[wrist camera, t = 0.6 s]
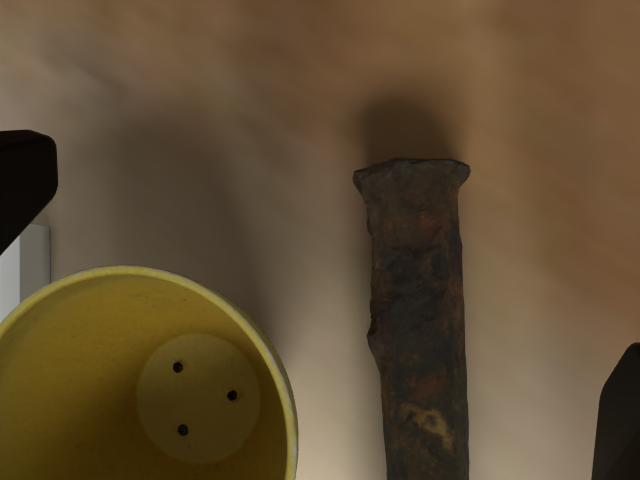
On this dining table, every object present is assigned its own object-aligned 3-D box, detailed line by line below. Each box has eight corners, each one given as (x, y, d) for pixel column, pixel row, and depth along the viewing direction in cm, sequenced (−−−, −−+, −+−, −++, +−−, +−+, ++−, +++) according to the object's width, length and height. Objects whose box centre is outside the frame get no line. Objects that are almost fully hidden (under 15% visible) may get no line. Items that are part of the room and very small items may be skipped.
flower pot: (373, 336, 23) (357, 362, 16) (263, 574, 24) (199, 704, 16) (148, 227, 25) (44, 208, 18) (45, 451, 25) (-99, 521, 18)
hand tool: (360, 173, 24) (347, 149, 19) (464, 170, 23) (477, 145, 19) (361, 674, 23) (347, 774, 18) (470, 685, 22) (484, 791, 18)
